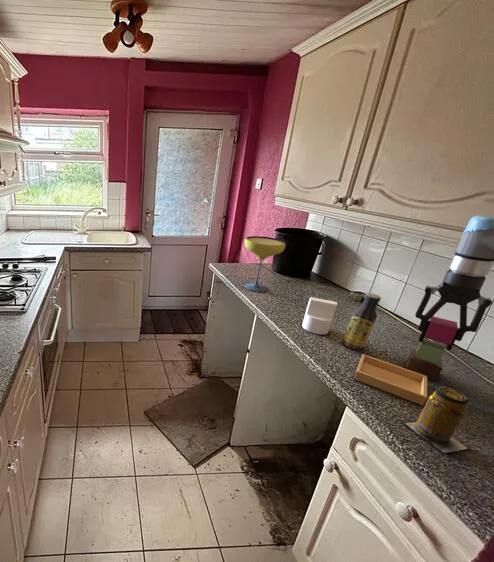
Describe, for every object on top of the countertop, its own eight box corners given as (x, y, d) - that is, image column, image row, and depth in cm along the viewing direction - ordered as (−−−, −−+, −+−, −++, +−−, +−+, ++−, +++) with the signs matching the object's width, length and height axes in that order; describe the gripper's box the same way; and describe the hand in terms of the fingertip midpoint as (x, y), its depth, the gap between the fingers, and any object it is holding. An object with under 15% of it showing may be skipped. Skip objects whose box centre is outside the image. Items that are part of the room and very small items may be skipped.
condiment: (427, 420, 79) (447, 382, 75) (468, 449, 71) (492, 408, 67) (404, 424, 78) (423, 385, 73) (443, 453, 70) (466, 412, 65)
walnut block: (435, 371, 98) (441, 358, 97) (435, 381, 94) (442, 367, 92) (406, 361, 103) (412, 348, 101) (405, 371, 98) (411, 357, 96)
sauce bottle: (339, 344, 111) (357, 294, 104) (345, 338, 115) (362, 289, 108) (361, 353, 107) (381, 300, 99) (366, 346, 111) (385, 295, 103)
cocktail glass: (251, 279, 171) (260, 234, 162) (282, 290, 157) (293, 242, 148) (229, 285, 162) (237, 238, 153) (260, 297, 148) (270, 246, 139)
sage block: (437, 358, 97) (444, 344, 95) (437, 364, 93) (444, 350, 91) (416, 351, 100) (422, 337, 98) (415, 357, 96) (422, 344, 94)
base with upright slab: (327, 326, 124) (335, 299, 119) (329, 336, 116) (339, 308, 112) (301, 320, 127) (309, 294, 123) (302, 330, 120) (310, 302, 116)
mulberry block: (449, 338, 94) (456, 322, 92) (450, 345, 90) (458, 328, 88) (424, 331, 97) (431, 315, 95) (424, 337, 93) (431, 321, 91)
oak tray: (423, 383, 92) (427, 376, 91) (423, 405, 84) (427, 397, 83) (359, 361, 102) (362, 353, 101) (353, 378, 94) (356, 371, 93)
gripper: (515, 277, 83) (477, 351, 91) (422, 262, 94) (395, 329, 103) (521, 284, 78) (480, 362, 86) (421, 267, 89) (393, 337, 98)
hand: (434, 344), depth 94 cm, fingers closed on mulberry block, 5 cm apart
